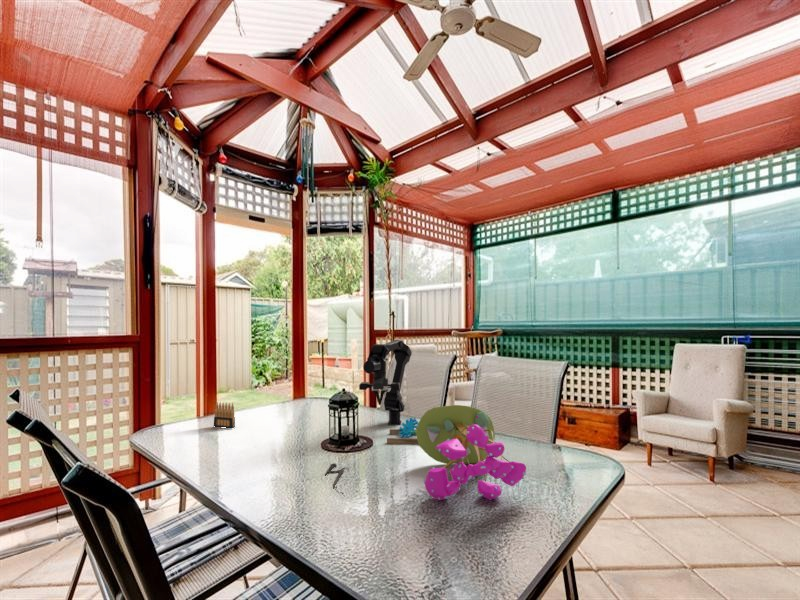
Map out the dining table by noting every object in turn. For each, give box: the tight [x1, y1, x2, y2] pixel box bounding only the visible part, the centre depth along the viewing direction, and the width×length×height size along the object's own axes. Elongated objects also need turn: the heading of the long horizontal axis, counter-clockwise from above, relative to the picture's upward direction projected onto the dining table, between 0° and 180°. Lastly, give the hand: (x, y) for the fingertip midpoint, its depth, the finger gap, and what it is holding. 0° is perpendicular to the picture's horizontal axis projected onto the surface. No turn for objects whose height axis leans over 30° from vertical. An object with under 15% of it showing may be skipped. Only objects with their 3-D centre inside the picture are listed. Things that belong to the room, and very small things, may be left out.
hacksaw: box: [324, 462, 350, 495], centre depth 119 cm, size 24×10×2 cm, turn 174°
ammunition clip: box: [213, 401, 236, 429], centre depth 179 cm, size 11×2×12 cm, turn 75°
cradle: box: [386, 428, 419, 445], centre depth 162 cm, size 14×20×3 cm
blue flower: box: [398, 417, 419, 438], centre depth 165 cm, size 11×6×10 cm
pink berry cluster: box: [415, 404, 527, 501], centre depth 115 cm, size 30×28×35 cm
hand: (379, 404), depth 174 cm, fingers closed
